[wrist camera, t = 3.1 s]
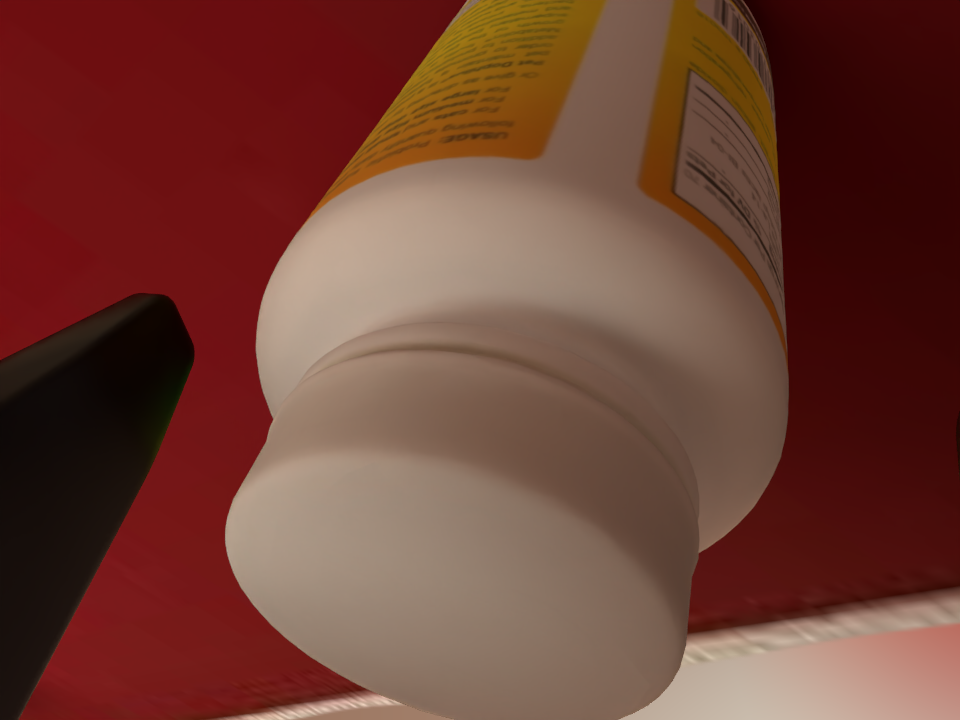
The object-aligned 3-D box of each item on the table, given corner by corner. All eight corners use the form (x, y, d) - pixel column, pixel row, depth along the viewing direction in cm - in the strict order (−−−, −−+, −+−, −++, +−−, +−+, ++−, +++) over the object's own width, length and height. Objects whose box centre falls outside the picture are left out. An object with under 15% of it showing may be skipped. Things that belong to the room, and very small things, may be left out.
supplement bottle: (415, 163, 16) (123, 631, 9) (509, -144, 12) (117, 232, 5) (675, 275, 16) (606, 824, 9) (850, 9, 12) (990, 599, 5)
